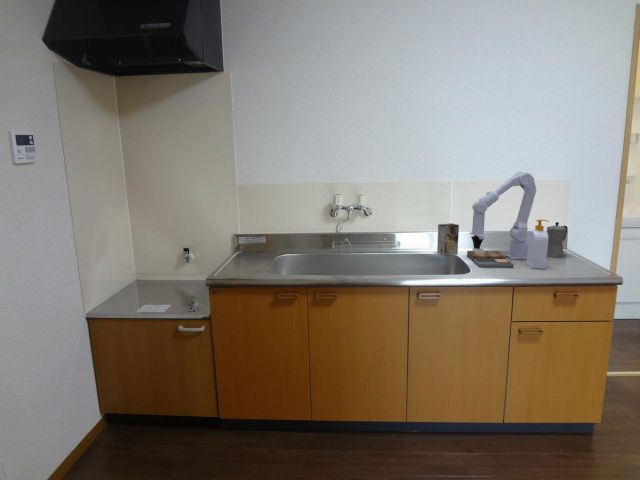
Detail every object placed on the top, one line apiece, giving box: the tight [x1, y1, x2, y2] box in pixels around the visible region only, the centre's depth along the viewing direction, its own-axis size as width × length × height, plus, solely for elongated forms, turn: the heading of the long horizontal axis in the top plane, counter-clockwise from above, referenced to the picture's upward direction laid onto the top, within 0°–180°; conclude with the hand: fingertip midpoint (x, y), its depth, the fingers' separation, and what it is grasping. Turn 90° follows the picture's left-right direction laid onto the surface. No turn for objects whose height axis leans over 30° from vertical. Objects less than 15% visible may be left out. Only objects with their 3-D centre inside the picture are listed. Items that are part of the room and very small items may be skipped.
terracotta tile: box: [494, 259, 509, 264], centre depth 225 cm, size 5×5×2 cm
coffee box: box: [436, 223, 460, 256], centre depth 249 cm, size 9×6×16 cm
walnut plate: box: [466, 250, 507, 263], centre depth 237 cm, size 16×12×3 cm
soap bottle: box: [526, 219, 550, 270], centre depth 221 cm, size 9×7×23 cm
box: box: [473, 258, 514, 269], centre depth 226 cm, size 16×10×2 cm, turn 87°
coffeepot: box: [546, 221, 569, 259], centre depth 243 cm, size 15×9×18 cm, turn 118°
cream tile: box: [471, 247, 486, 254], centre depth 238 cm, size 5×5×2 cm
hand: (476, 250), depth 242 cm, fingers closed
